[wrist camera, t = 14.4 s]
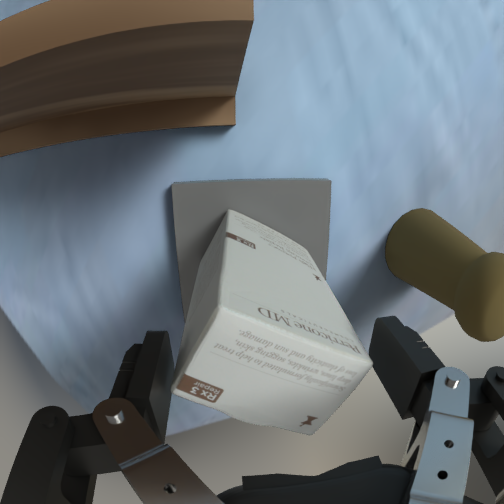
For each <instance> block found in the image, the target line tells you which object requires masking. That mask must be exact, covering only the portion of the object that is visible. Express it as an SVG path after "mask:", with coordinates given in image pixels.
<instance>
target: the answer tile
mask: <svg viewBox="0 0 504 504" xmlns="http://www.w3.org/2000/svg"><path fill="white" fill-rule="evenodd" d="M172 199H173V213H174V226H175V238H176V249H177V260H178V269H179V279H180V288H181V296H182V305H183V313H184V320H185V323H186V319H187V315H188V310H189V306H190V302H191V298H192V293H193V289H194V285H195V281H196V277H197V273H198V269H199V265H200V261H201V259H202V258H203V256H204V254H205V252H206V250H207V249H208V247H209V245H210V243H211V241H212V239H213V237H214V235H215V234H216V232H217V230H218V228H219V226H220V224H221V222H222V220H223V218H224V217H225V215H226V213H227V211H228V210H229V209H230V210H234V211H236V212H238V213H241V214H243V215H245V216H247V217H249V218H251V219H253V220H255V221H258V222H260V223H262V224H264V225H266V226H267V227H269V228H271V229H273V230H275V231H277V232H279V233H281V234H282V235H284V236H286V237H288V238H289V239H291V240H293V241H294V242H296V243H298V244H299V245H301V246H303V247H304V248H305V249H306V250H307V251H308V252H309V254H310V256H311V257H312V259H313V261H314V262H315V264H316V266H317V267H318V269H319V271H320V272H321V274H322V276H323V277H324V279H325V281H326V271H327V257H328V242H329V225H330V204H331V180H329V179H305V178H290V179H234V180H208V181H189V182H174V183H173V184H172Z"/></svg>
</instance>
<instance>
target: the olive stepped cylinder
mask: <svg viewBox="0 0 504 504" xmlns="http://www.w3.org/2000/svg"><path fill="white" fill-rule="evenodd" d="M385 259H386V262H387V265H388V268H389V269H390V271H391V272H392V273H393V274H394V276H396V277H398V278H400V279H401V280H403V281H405V282H407V283H408V284H410V285H412V286H414V287H415V288H417V289H419V290H420V291H422V292H424V293H426V294H427V295H429V296H431V297H432V298H434V299H436V300H438V301H439V302H441V303H443V304H444V305H446V306H448V307H449V308H451V309H453V310H454V311H455V317H456V319H457V320H458V322H459V324H460V325H461V327H462V329H463V330H464V331H465V332H466V333H467V334H468V335H469V336H471V337H473V338H475V339H477V340H479V341H483V342H486V341H487V342H489V341H495V340H497V339H499V338H501V337H503V336H504V254H503V253H497V252H490V253H487V252H485V251H484V250H483V249H482V248H480V247H479V246H478V245H477V244H475V243H474V242H473V241H472V240H470V239H469V238H468V237H466V236H465V235H464V234H463V233H461V232H460V231H459V230H457V229H456V228H455V227H453V226H452V225H451V224H449V223H448V222H447V221H445V220H444V219H442V218H441V217H440V216H438V215H437V214H436V213H434V212H433V211H431V210H427V209H423V208H421V209H414V210H411V211H409V212H408V213H406V214H404V215H402V217H401V218H400V219H399V220H398V221H397V222H396V223H395V224H394V226H393V227H392V229H391V231H390V233H389V235H388V238H387V242H386V246H385Z"/></svg>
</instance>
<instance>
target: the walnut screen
mask: <svg viewBox="0 0 504 504" xmlns="http://www.w3.org/2000/svg"><path fill="white" fill-rule="evenodd" d="M253 21H254V10H253V0H50V1H47V2H44V3H41V4H39V5H36V6H34V7H31V8H29V9H26V10H24V11H22V12H19V13H17V14H15V15H13V16H10V17H8V18H6V19H4V20H2V21H0V157H3V156H7V155H11V154H15V153H19V152H23V151H27V150H32V149H36V148H41V147H46V146H51V145H56V144H61V143H66V142H72V141H77V140H83V139H90V138H96V137H103V136H110V135H117V134H125V133H133V132H142V131H152V130H163V129H175V128H189V127H206V126H232V125H236V121H235V95H236V90H237V86H238V82H239V77H240V73H241V69H242V65H243V61H244V57H245V53H246V49H247V45H248V41H249V37H250V33H251V29H252V25H253Z"/></svg>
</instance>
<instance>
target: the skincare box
mask: <svg viewBox="0 0 504 504" xmlns="http://www.w3.org/2000/svg"><path fill="white" fill-rule="evenodd" d="M372 365H373V361H372V360H371V359H370V357H369V355H368V353H367V352H366V350H365V348H364V347H363V345H362V343H361V342H360V340H359V338H358V336H357V334H356V332H355V330H354V329H353V327H352V325H351V323H350V322H349V320H348V318H347V316H346V315H345V313H344V311H343V309H342V308H341V306H340V304H339V303H338V301H337V299H336V297H335V296H334V294H333V292H332V291H331V289H330V287H329V286H328V284H327V282H326V281H325V279H324V277H323V276H322V274H321V272H320V271H319V269H318V267H317V266H316V264H315V262H314V261H313V259H312V257H311V256H310V254H309V252H308V251H307V250H306V249H305V248H304V247H303V246H301V245H299V244H298V243H296V242H294V241H293V240H291V239H289V238H288V237H286V236H284V235H282V234H281V233H279V232H277V231H275V230H273V229H271V228H269V227H267V226H266V225H264V224H262V223H260V222H258V221H255V220H253V219H251V218H249V217H247V216H245V215H243V214H241V213H238V212H236V211H234V210H230V209H229V210H228V211H227V213H226V215H225V217H224V218H223V220H222V222H221V224H220V226H219V228H218V230H217V232H216V234H215V235H214V237H213V239H212V241H211V243H210V245H209V247H208V249H207V250H206V252H205V254H204V256H203V258H202V259H201V261H200V265H199V269H198V273H197V277H196V281H195V285H194V289H193V293H192V298H191V302H190V306H189V310H188V315H187V319H186V323H185V327H184V331H183V336H182V340H181V345H180V349H179V354H178V358H177V363H176V367H175V371H174V375H173V379H172V383H171V387H170V389H171V393H173V394H174V395H177V396H180V397H182V398H185V399H188V400H190V401H193V402H196V403H199V404H201V405H204V406H207V407H210V408H213V409H216V410H219V411H221V412H223V413H225V414H227V415H228V416H231V417H233V418H235V419H239V420H241V421H244V422H247V423H251V424H256V425H263V426H272V427H277V428H281V429H285V430H289V431H293V432H297V433H302V434H306V435H313V434H314V433H315V432H316V431H317V430H318V429H319V428H320V427H321V426H322V425H323V424H324V423H325V422H326V421H327V420H328V419H329V418H330V416H331V415H332V414H333V413H334V412H335V411H336V410H337V409H338V408H339V407H340V405H341V404H342V403H343V402H344V401H345V400H346V399H347V398H348V397H349V395H350V394H351V393H352V392H353V391H354V390H355V388H356V387H357V386H358V384H359V383H360V382H361V381H362V379H363V378H364V376H365V375H366V374H367V373H368V371H369V370H370V369H371V367H372Z"/></svg>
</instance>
